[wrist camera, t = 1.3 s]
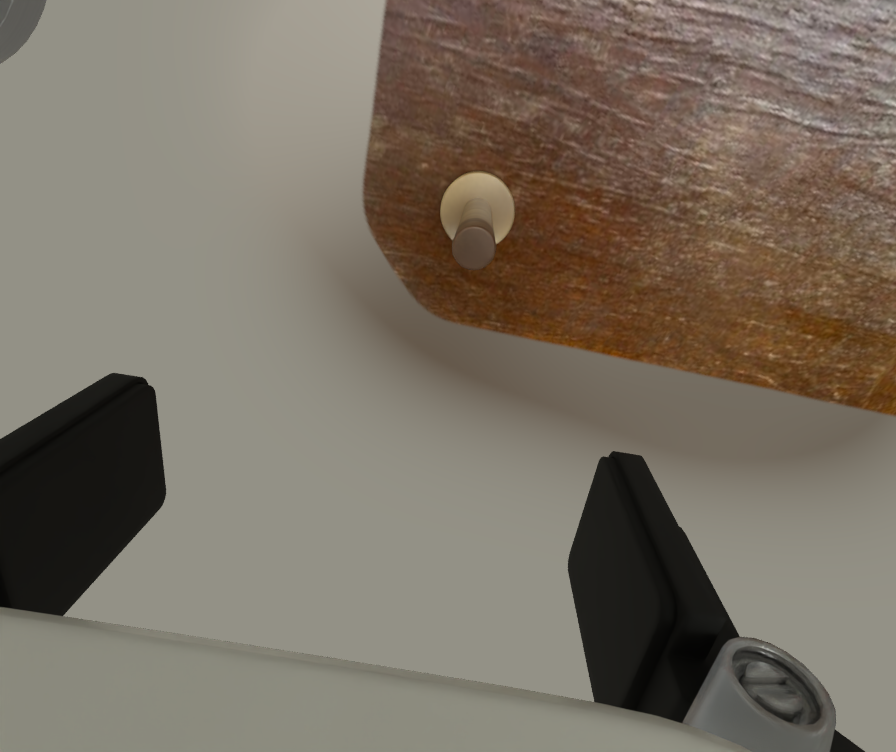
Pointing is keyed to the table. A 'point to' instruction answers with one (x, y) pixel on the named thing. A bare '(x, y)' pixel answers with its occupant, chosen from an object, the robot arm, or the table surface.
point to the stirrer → (476, 217)
